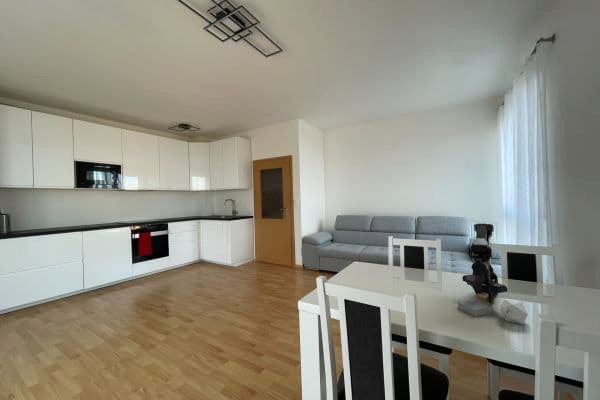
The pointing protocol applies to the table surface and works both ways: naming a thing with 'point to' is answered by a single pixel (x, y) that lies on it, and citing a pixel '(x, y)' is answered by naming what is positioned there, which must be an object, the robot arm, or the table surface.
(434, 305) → the table surface
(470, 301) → the base
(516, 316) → the die
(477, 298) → the block
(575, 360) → the table surface
